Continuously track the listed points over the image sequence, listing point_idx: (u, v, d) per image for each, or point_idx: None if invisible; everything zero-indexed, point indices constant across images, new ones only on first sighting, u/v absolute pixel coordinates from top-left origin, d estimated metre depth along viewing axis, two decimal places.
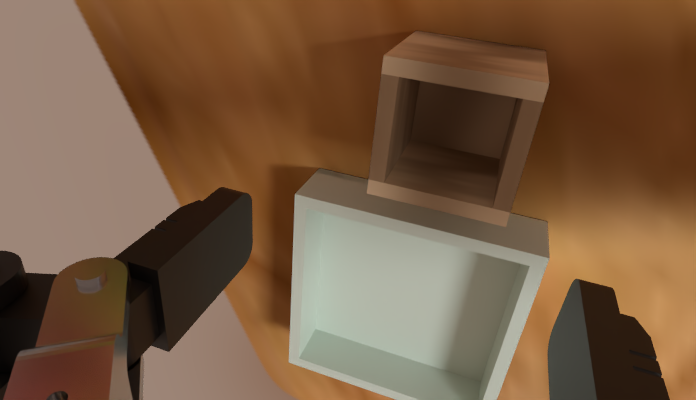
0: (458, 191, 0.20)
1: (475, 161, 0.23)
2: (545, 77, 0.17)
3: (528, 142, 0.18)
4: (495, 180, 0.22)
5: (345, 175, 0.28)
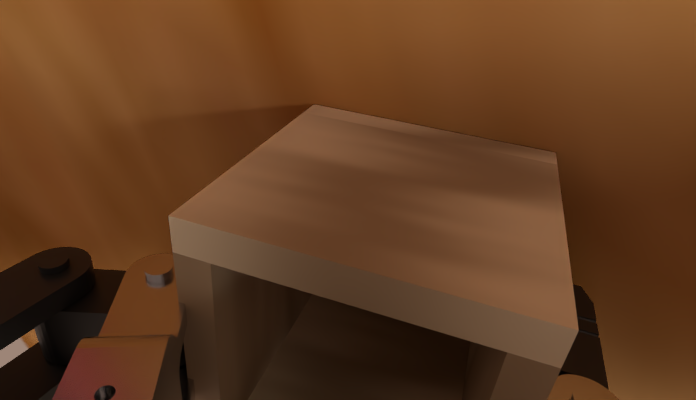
0: None
1: (425, 342, 0.13)
2: (565, 290, 0.07)
3: None
4: None
5: None
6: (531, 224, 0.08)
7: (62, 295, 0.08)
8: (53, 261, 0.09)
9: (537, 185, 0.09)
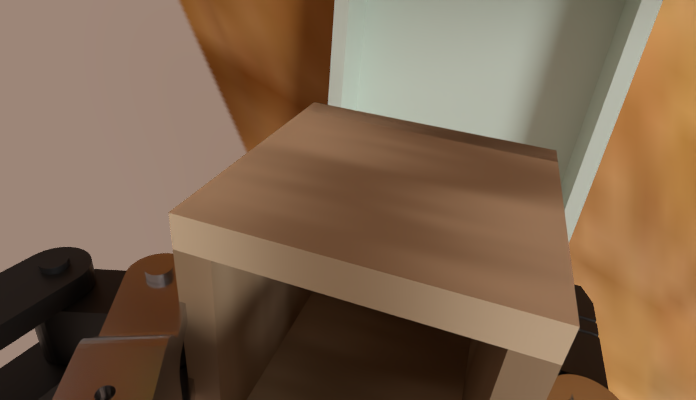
0: None
1: (426, 340, 0.13)
2: (566, 287, 0.07)
3: None
4: None
5: None
6: (532, 221, 0.08)
7: (62, 295, 0.08)
8: (53, 261, 0.09)
9: (538, 183, 0.09)
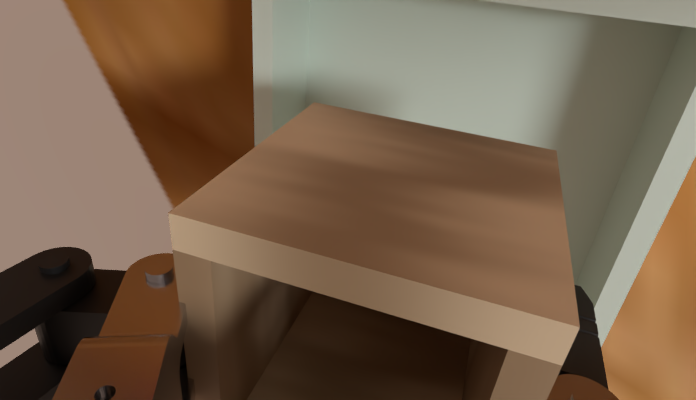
0: None
1: (426, 340, 0.13)
2: (566, 288, 0.07)
3: None
4: None
5: None
6: (532, 222, 0.08)
7: (62, 295, 0.08)
8: (53, 261, 0.09)
9: (538, 183, 0.09)
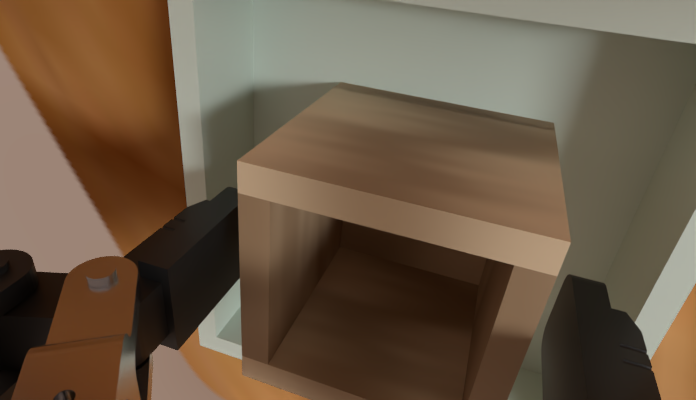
0: (399, 380, 0.11)
1: (438, 293, 0.14)
2: (560, 217, 0.08)
3: (524, 340, 0.09)
4: (468, 343, 0.13)
5: None
6: (533, 173, 0.10)
7: None
8: None
9: (538, 146, 0.11)
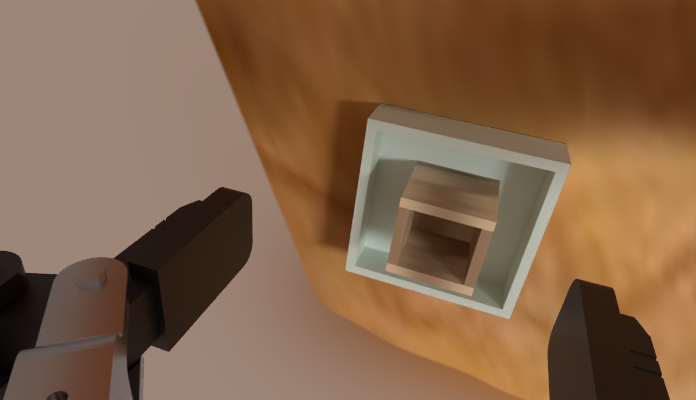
0: (443, 271, 0.33)
1: (454, 245, 0.36)
2: (495, 215, 0.30)
3: (484, 251, 0.30)
4: (466, 262, 0.34)
5: (402, 108, 0.34)
6: (489, 201, 0.31)
7: None
8: None
9: (492, 191, 0.32)
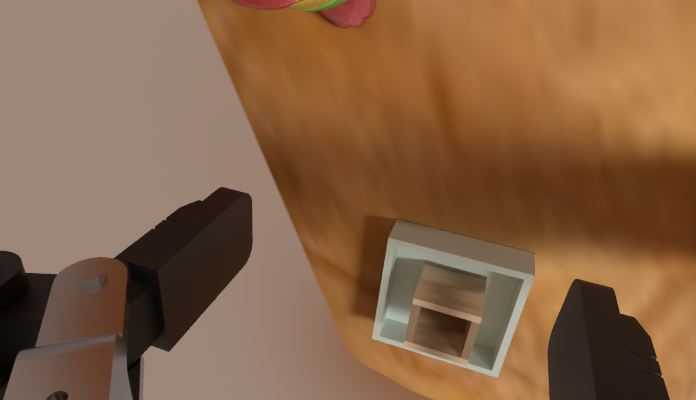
0: (445, 346, 0.45)
1: (454, 322, 0.47)
2: (481, 311, 0.41)
3: (474, 336, 0.42)
4: (463, 337, 0.46)
5: (413, 223, 0.46)
6: (477, 298, 0.43)
7: None
8: None
9: (480, 287, 0.44)
